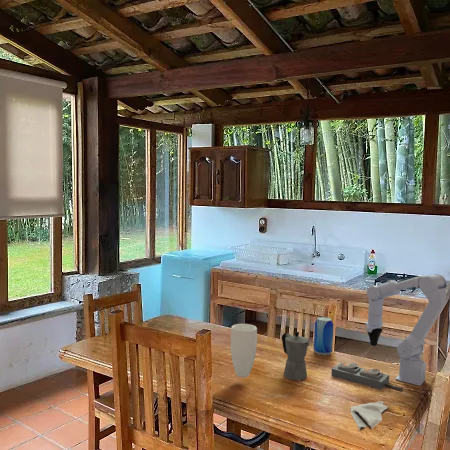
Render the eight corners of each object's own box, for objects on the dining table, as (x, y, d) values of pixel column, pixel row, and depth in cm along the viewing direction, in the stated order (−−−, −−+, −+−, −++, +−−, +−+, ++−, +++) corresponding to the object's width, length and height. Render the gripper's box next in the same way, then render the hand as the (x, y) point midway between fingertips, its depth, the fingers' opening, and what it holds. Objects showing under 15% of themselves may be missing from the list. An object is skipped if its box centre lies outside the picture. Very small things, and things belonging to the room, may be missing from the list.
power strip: (405, 387, 178) (406, 377, 177) (398, 394, 171) (399, 384, 170) (340, 369, 194) (341, 360, 193) (331, 375, 187) (331, 366, 186)
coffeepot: (315, 379, 183) (317, 334, 181) (297, 384, 177) (299, 337, 176) (289, 366, 195) (291, 324, 194) (272, 370, 190) (273, 327, 189)
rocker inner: (380, 371, 181) (379, 368, 181) (376, 374, 178) (376, 371, 178) (366, 371, 184) (365, 368, 184) (362, 373, 181) (362, 370, 181)
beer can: (327, 357, 208) (328, 322, 207) (310, 353, 213) (311, 318, 212) (335, 352, 215) (336, 318, 214) (318, 348, 220) (320, 315, 219)
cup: (260, 381, 178) (262, 326, 177) (246, 390, 170) (248, 332, 169) (238, 375, 184) (239, 321, 183) (223, 383, 176) (225, 327, 174)
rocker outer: (357, 365, 186) (356, 362, 186) (354, 367, 183) (353, 364, 184) (344, 366, 190) (344, 363, 190) (341, 368, 187) (340, 365, 187)
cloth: (369, 398, 169) (369, 391, 168) (406, 411, 159) (406, 405, 159) (329, 420, 150) (329, 413, 150) (368, 437, 141) (368, 430, 140)
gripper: (372, 309, 205) (370, 339, 206) (359, 315, 193) (358, 347, 194) (388, 312, 201) (386, 342, 202) (376, 318, 189) (374, 351, 190)
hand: (373, 345), depth 198 cm, fingers closed
